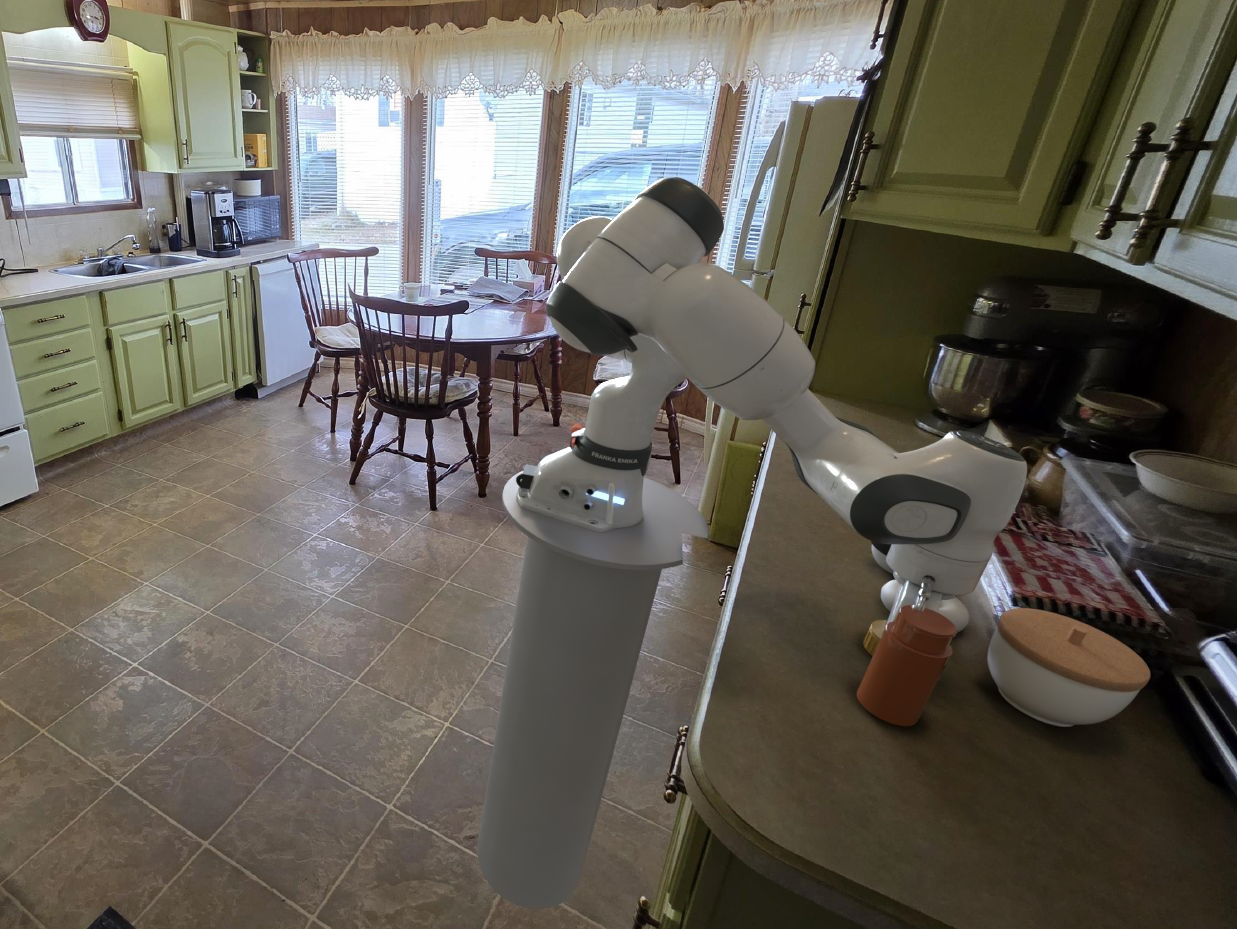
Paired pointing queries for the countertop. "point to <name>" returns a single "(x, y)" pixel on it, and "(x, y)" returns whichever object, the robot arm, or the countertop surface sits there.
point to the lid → (874, 635)
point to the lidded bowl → (1062, 668)
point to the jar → (906, 665)
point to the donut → (947, 608)
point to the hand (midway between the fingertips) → (892, 651)
